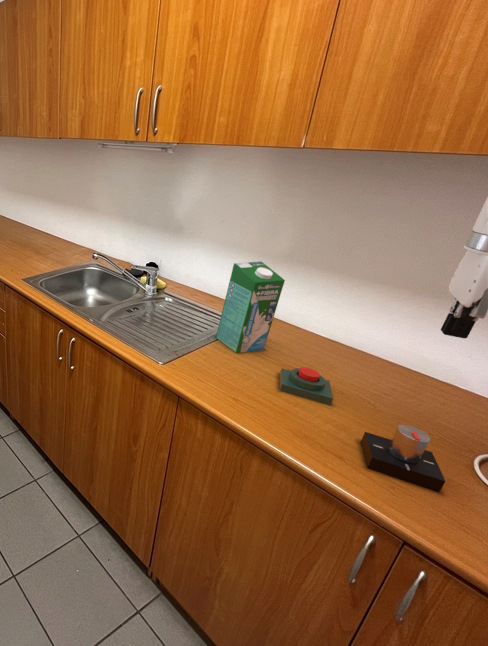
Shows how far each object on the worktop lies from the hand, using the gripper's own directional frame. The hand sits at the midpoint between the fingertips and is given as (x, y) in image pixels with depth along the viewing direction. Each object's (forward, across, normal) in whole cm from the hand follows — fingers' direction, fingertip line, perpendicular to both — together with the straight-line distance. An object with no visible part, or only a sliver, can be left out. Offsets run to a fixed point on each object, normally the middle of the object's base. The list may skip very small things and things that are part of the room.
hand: (453, 334), depth 76 cm
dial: (+22, -12, +3) cm, 25 cm away
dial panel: (+25, -12, +3) cm, 28 cm away
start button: (+21, +7, +17) cm, 28 cm away
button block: (+25, +7, +17) cm, 31 cm away
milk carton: (+25, +23, +32) cm, 47 cm away
